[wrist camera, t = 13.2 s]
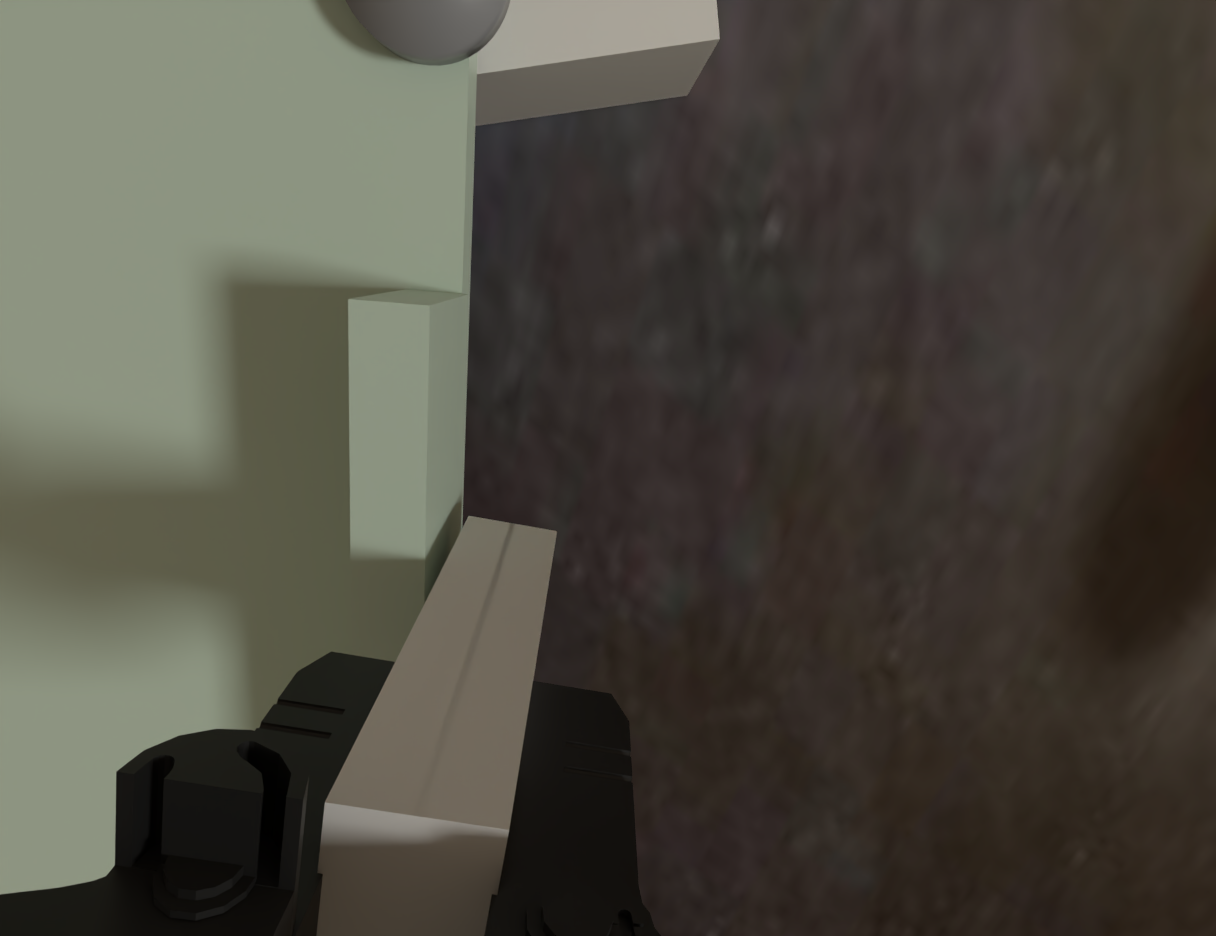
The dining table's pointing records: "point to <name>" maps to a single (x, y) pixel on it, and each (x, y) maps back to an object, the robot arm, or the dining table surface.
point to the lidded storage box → (591, 55)
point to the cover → (217, 370)
